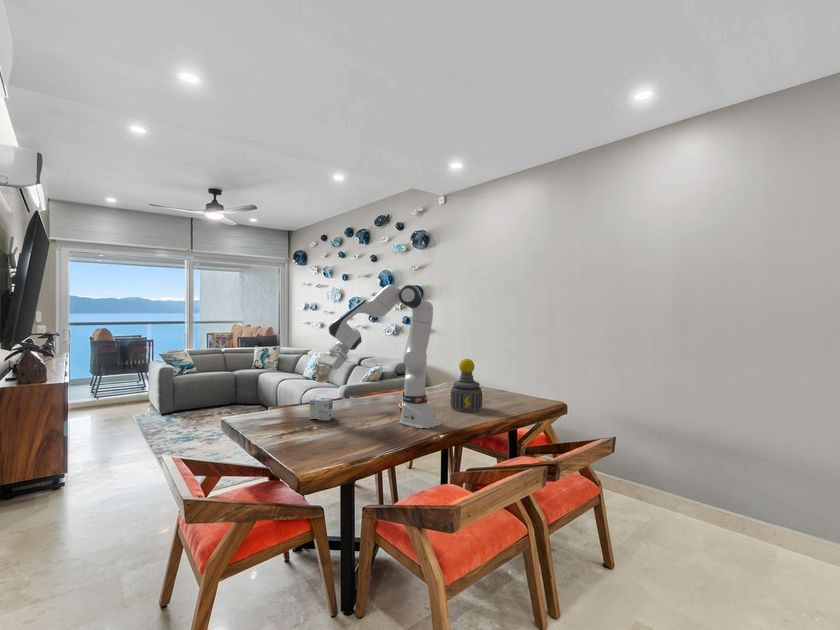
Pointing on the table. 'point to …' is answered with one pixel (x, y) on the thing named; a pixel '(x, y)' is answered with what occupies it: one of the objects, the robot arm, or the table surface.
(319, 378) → the maple block
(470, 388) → the decorative lamp
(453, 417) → the table surface
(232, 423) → the table surface
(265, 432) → the table surface
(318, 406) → the light bulb box
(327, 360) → the robot arm
